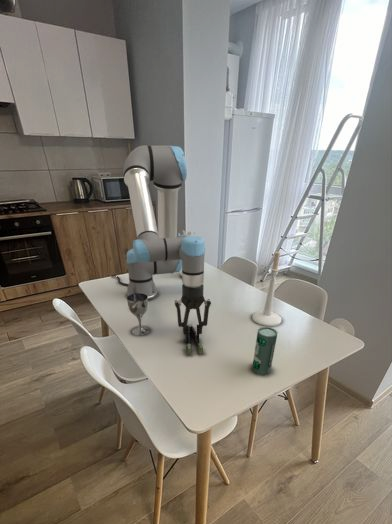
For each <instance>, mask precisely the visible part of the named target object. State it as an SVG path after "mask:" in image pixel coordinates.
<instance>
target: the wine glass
mask: <svg viewBox="0 0 392 524" xmlns="http://www.w3.org/2000/svg"><path fill="white" fill-rule="evenodd" d="M126 303H127V307H128V310H129V311H130V313H131V314H132V315H133V316H134V317H136V319H137V321H138V325H139V326H137V327H134V328H133V329H131V330H132V331H131V333H132V334H133V335H135V336H144V335H145V336H146V335H148V334H149V333H150V331H151V330H150V329H149V328H148V327H146V326H142V318H143V317H144V315H145V314H146V313H147V311H148V308H149V300H148V297H147V295H145V294H141V293H136V294H131V295H129V296H127V297H126Z"/></svg>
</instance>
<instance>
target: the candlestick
mask: <svg viewBox="0 0 392 524" xmlns="http://www.w3.org/2000/svg"><path fill="white" fill-rule="evenodd" d="M280 255H281V252H280V251H275V252H274V256H273V263H272V267H270V270H271V271H270V274H271V277H270V281H269V286H268V291H267V295H266V299H265V304H264V308H263V310H258V311H256V312H254V313H253V314H252V317H251V319H252V321H253V322H254V323H256V324H257V325H261V326H263V327H275V326H278V325H280V324H281V323H282V317H281V315H279V314H278V313H276V312H274V311H273V307H274V298H275V290H276V289H275V288H276V280H277V277H276V276H277V274H278V273H279V271H280V268H279V262H280Z"/></svg>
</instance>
